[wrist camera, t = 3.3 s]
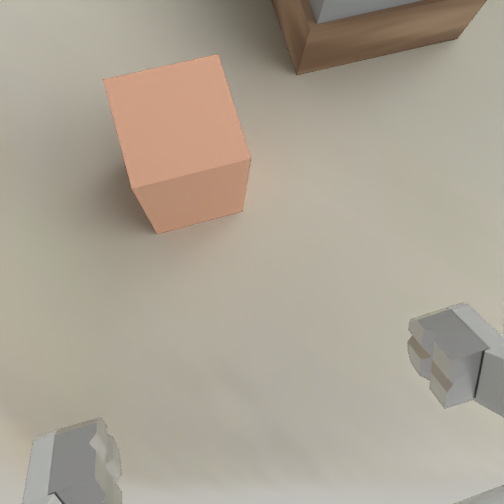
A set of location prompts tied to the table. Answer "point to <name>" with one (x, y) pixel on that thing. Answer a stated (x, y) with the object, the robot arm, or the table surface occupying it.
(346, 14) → the charcoal slab
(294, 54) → the walnut slab
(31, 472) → the robot arm
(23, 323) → the table surface
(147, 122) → the terracotta block
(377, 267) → the table surface
